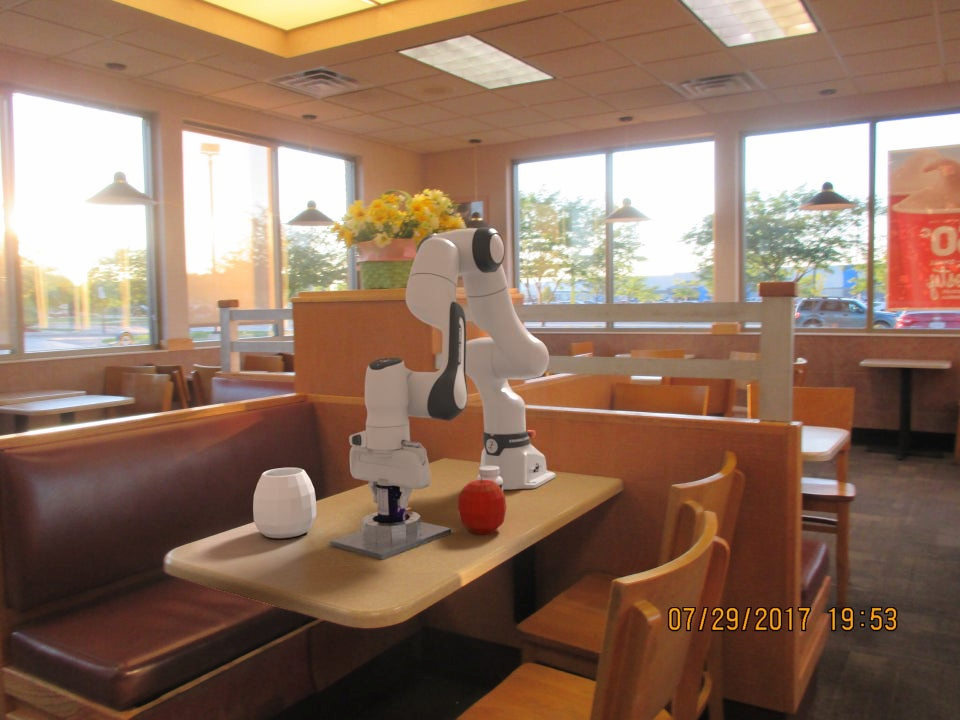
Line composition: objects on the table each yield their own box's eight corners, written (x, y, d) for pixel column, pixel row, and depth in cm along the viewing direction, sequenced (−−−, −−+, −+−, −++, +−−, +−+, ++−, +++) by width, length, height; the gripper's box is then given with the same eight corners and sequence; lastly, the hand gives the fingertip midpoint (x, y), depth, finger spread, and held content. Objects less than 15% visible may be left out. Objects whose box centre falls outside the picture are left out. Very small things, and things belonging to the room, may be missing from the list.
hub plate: (400, 521, 168) (399, 498, 168) (451, 533, 158) (450, 508, 158) (330, 545, 152) (329, 519, 152) (381, 559, 143) (380, 532, 143)
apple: (501, 522, 165) (500, 470, 164) (511, 536, 155) (510, 480, 155) (456, 526, 164) (454, 473, 163) (462, 540, 154) (461, 484, 153)
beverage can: (401, 539, 152) (399, 480, 151) (374, 538, 153) (372, 480, 152) (409, 530, 158) (407, 474, 157) (383, 530, 159) (381, 473, 158)
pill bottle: (476, 519, 168) (475, 471, 167) (475, 512, 174) (474, 465, 173) (504, 518, 168) (503, 470, 167) (502, 511, 174) (501, 464, 173)
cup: (294, 545, 153) (291, 480, 152) (241, 540, 158) (237, 477, 157) (329, 527, 165) (326, 466, 164) (278, 522, 170) (275, 463, 169)
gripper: (436, 440, 150) (438, 508, 151) (366, 431, 163) (368, 495, 164) (414, 445, 145) (416, 516, 146) (343, 436, 158) (346, 501, 159)
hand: (390, 504), depth 155 cm, fingers closed on beverage can, 5 cm apart
